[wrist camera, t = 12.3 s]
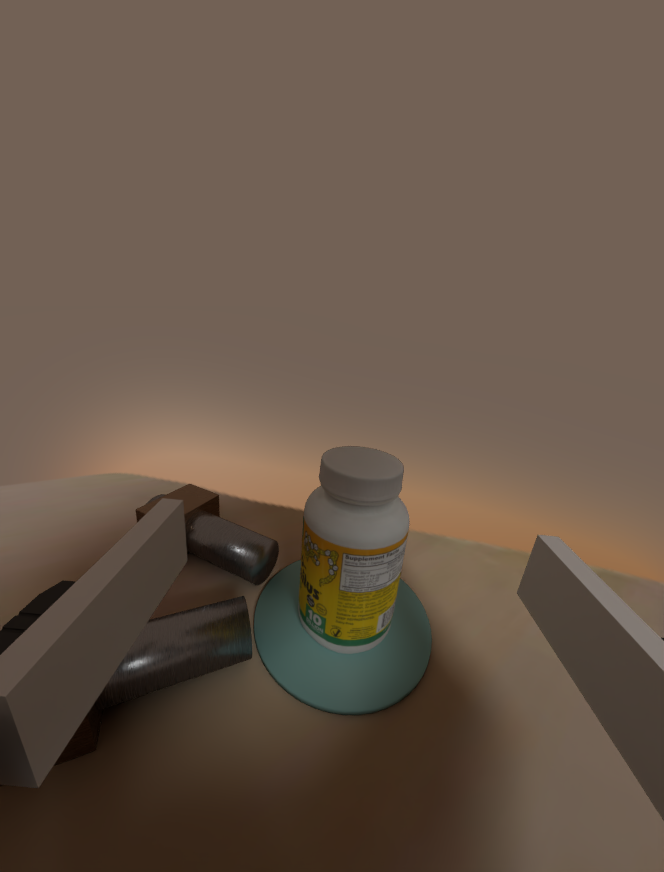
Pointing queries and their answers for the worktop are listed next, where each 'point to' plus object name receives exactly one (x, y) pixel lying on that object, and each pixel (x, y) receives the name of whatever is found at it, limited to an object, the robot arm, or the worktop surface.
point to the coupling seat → (336, 672)
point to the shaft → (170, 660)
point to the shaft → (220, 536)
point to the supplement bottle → (352, 549)
